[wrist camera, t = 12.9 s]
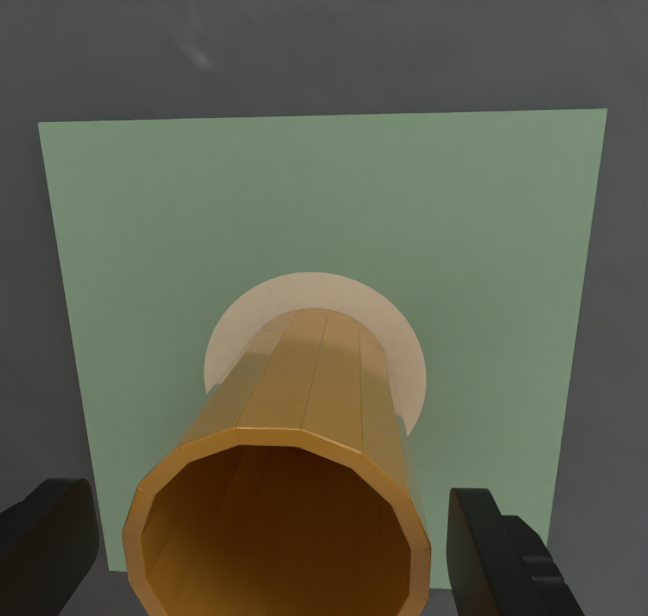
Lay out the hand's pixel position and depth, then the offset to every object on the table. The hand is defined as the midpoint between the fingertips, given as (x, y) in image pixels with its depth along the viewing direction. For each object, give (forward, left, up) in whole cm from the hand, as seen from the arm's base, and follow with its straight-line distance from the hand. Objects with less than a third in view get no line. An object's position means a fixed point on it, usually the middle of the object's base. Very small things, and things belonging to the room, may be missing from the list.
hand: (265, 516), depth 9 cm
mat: (0, 0, -9) cm, 9 cm away
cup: (0, 0, -8) cm, 8 cm away
